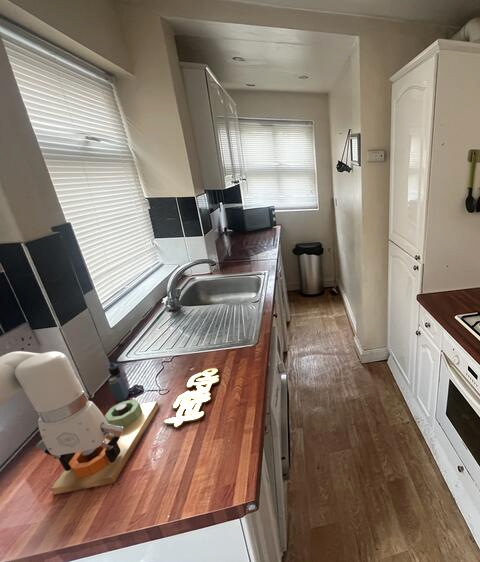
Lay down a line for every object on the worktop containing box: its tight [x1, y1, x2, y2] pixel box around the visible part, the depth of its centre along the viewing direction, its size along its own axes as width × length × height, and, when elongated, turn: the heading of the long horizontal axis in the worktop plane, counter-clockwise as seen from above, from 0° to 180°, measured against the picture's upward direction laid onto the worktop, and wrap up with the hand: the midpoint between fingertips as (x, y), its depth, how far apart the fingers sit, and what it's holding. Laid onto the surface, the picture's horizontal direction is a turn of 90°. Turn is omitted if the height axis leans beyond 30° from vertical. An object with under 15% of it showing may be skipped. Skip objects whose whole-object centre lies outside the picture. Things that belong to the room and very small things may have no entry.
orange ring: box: [69, 440, 110, 478], centre depth 73 cm, size 7×7×3 cm
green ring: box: [104, 399, 142, 427], centre depth 86 cm, size 7×7×3 cm
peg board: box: [50, 401, 160, 496], centre depth 79 cm, size 12×24×6 cm, turn 12°
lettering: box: [164, 367, 220, 429], centre depth 96 cm, size 25×10×1 cm, turn 10°
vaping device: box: [107, 362, 130, 404], centre depth 94 cm, size 3×5×12 cm, turn 21°
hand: (94, 461), depth 73 cm, fingers open, 8 cm apart
